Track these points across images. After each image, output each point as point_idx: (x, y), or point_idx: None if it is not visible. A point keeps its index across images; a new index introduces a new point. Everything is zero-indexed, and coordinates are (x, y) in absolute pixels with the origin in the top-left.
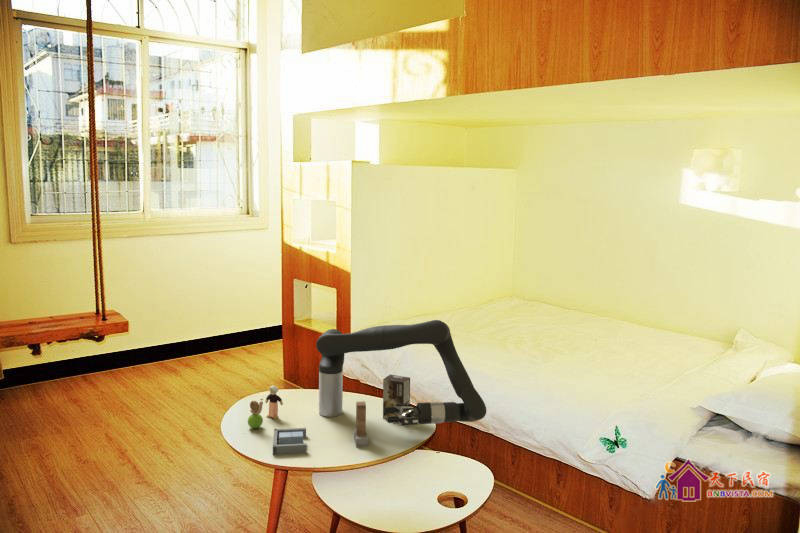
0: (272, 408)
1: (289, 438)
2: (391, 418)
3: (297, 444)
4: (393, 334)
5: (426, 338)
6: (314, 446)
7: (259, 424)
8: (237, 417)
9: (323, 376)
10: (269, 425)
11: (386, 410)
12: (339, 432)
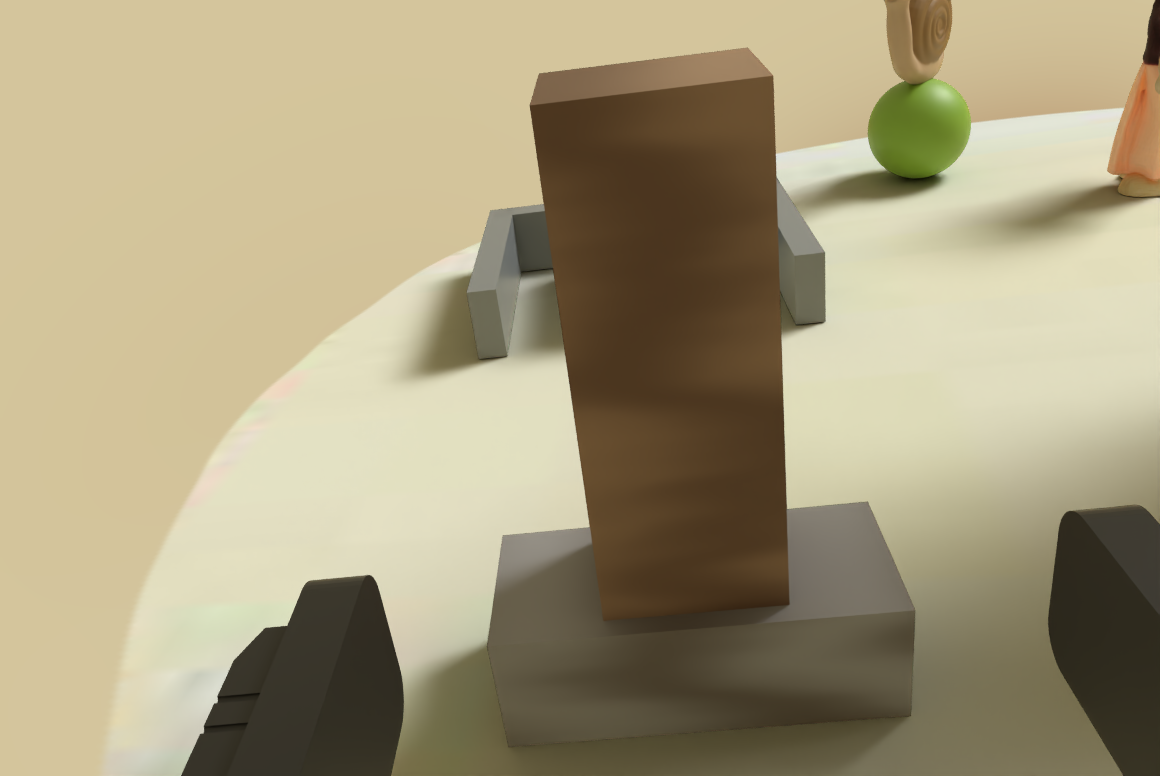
0: (1125, 107)
1: None
2: (259, 669)
3: (487, 264)
4: None
5: None
6: None
7: (888, 150)
8: (1058, 124)
9: None
10: (980, 198)
11: (1086, 606)
12: (963, 479)
